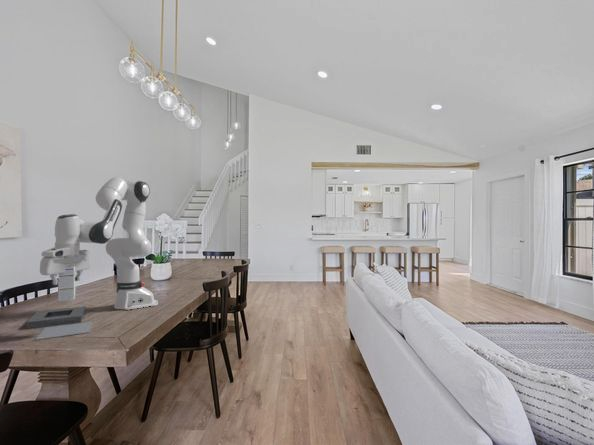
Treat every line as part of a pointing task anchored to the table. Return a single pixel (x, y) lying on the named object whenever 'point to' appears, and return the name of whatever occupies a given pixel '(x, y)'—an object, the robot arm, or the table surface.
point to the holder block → (56, 317)
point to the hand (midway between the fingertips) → (67, 282)
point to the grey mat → (65, 330)
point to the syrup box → (66, 285)
